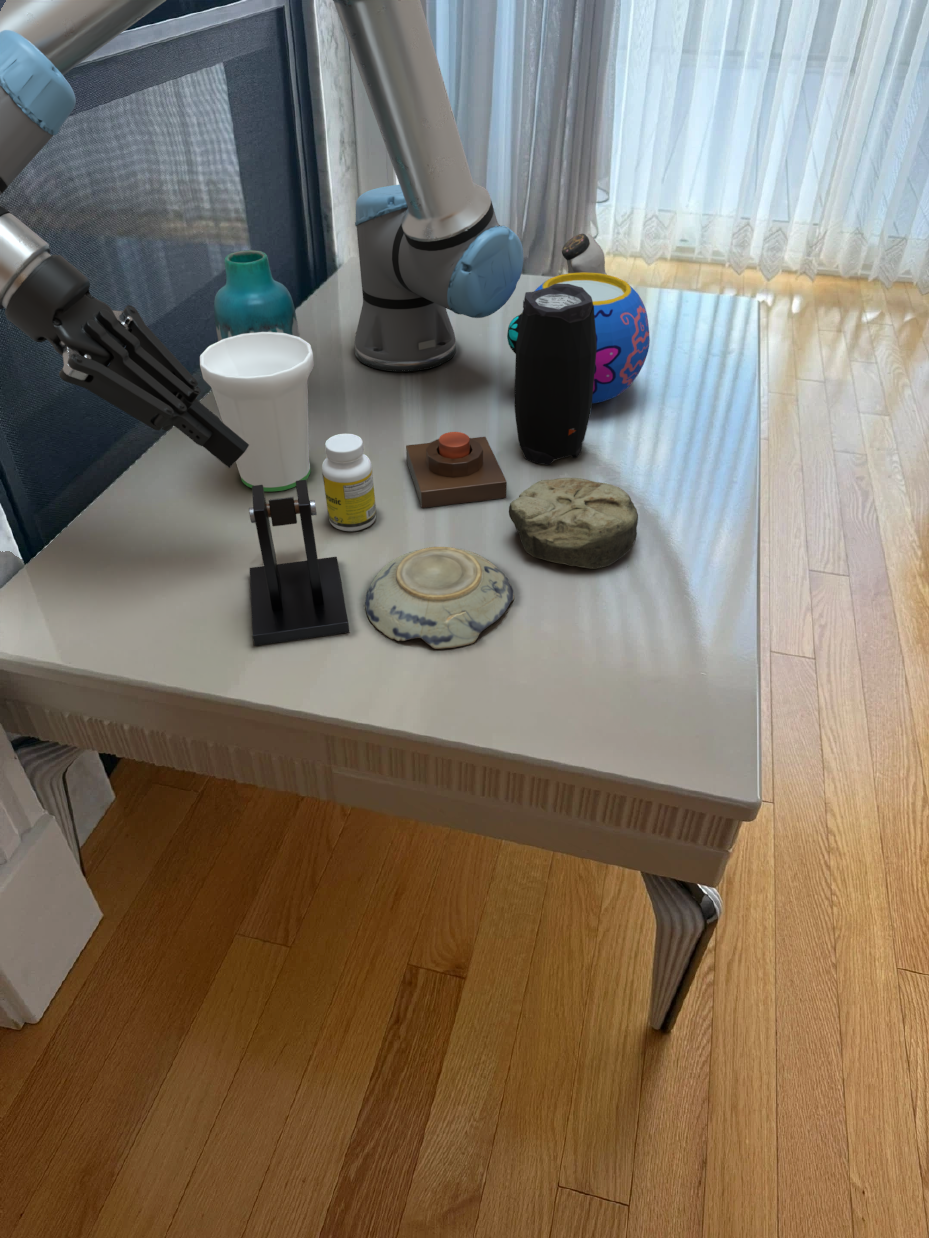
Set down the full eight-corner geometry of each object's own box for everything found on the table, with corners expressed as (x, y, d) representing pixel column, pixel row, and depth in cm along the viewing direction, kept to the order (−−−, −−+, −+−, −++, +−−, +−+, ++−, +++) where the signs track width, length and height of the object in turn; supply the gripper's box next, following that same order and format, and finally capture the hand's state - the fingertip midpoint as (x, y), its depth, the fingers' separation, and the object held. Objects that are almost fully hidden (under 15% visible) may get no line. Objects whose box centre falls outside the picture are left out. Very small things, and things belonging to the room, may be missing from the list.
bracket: (251, 577, 93) (229, 470, 85) (338, 566, 95) (324, 459, 87) (254, 646, 85) (230, 534, 77) (349, 632, 87) (335, 521, 78)
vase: (255, 423, 119) (229, 277, 107) (216, 396, 126) (187, 256, 113) (322, 398, 125) (304, 257, 112) (280, 374, 131) (259, 237, 119)
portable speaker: (593, 465, 110) (607, 308, 97) (517, 469, 110) (521, 311, 97) (580, 432, 117) (592, 280, 104) (509, 435, 116) (512, 283, 103)
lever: (263, 522, 93) (259, 499, 93) (311, 516, 94) (308, 493, 94) (256, 528, 81) (252, 502, 81) (312, 521, 82) (308, 495, 82)
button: (436, 446, 107) (436, 433, 106) (466, 443, 107) (466, 430, 106) (442, 461, 104) (441, 448, 103) (472, 458, 105) (472, 444, 103)
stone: (611, 588, 91) (616, 545, 88) (494, 552, 96) (494, 510, 93) (653, 524, 100) (659, 483, 97) (543, 494, 105) (546, 454, 102)
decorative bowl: (383, 664, 83) (536, 631, 86) (379, 633, 81) (537, 600, 84) (352, 572, 94) (488, 545, 97) (348, 543, 92) (488, 517, 95)
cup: (267, 513, 103) (244, 389, 93) (203, 476, 109) (176, 355, 99) (348, 471, 110) (335, 351, 100) (284, 438, 116) (266, 322, 106)
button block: (406, 461, 111) (405, 432, 109) (485, 452, 113) (485, 423, 110) (421, 508, 103) (420, 478, 101) (506, 498, 105) (507, 468, 102)
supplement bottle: (322, 512, 103) (312, 435, 96) (367, 502, 104) (360, 425, 98) (336, 537, 99) (326, 459, 93) (383, 526, 100) (376, 448, 94)
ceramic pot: (541, 360, 134) (545, 256, 124) (657, 381, 128) (672, 274, 118) (493, 409, 122) (494, 299, 112) (620, 435, 116) (632, 321, 106)
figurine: (576, 320, 145) (583, 223, 136) (632, 334, 141) (643, 234, 131) (548, 338, 140) (553, 238, 130) (605, 353, 135) (614, 250, 126)
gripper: (45, 285, 88) (239, 446, 97) (-29, 339, 78) (195, 513, 87) (80, 230, 84) (280, 403, 93) (7, 279, 74) (238, 468, 83)
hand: (239, 456), depth 90 cm, fingers closed
